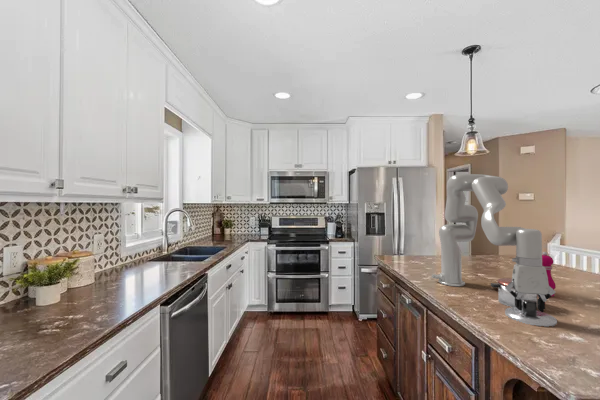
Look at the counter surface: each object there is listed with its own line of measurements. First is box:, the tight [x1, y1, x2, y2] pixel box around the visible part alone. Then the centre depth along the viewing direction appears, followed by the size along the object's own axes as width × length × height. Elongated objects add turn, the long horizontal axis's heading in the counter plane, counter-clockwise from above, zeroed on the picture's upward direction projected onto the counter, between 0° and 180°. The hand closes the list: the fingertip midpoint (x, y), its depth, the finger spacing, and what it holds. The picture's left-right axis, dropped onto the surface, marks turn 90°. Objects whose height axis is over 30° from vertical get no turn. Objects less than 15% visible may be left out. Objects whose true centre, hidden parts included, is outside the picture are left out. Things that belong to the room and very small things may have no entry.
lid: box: [504, 300, 558, 328], centre depth 105 cm, size 15×15×6 cm
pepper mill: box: [542, 251, 556, 298], centre depth 131 cm, size 7×7×20 cm
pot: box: [490, 277, 538, 308], centre depth 120 cm, size 19×14×9 cm
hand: (529, 309), depth 105 cm, fingers open, 6 cm apart
